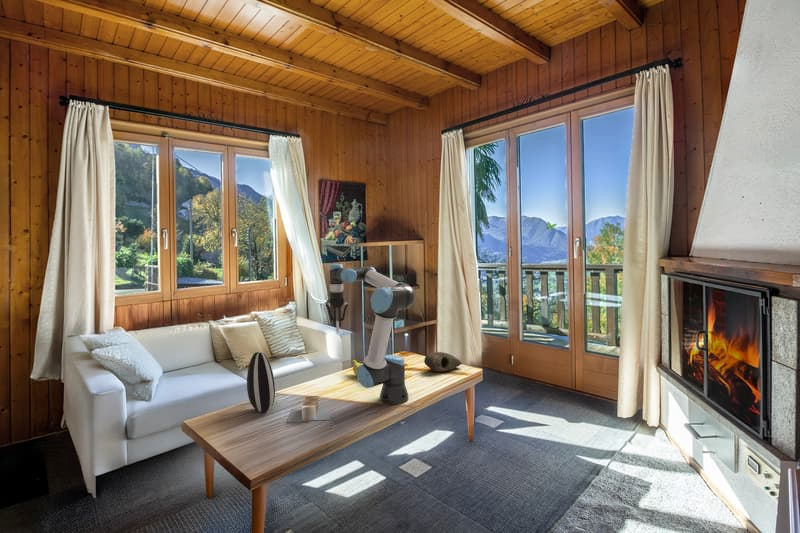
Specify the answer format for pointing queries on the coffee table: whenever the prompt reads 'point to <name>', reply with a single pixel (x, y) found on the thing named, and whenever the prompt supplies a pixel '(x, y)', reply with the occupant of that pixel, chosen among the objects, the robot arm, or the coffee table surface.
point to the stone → (441, 361)
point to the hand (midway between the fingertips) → (337, 332)
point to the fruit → (356, 366)
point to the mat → (320, 416)
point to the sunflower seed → (260, 383)
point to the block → (310, 408)
